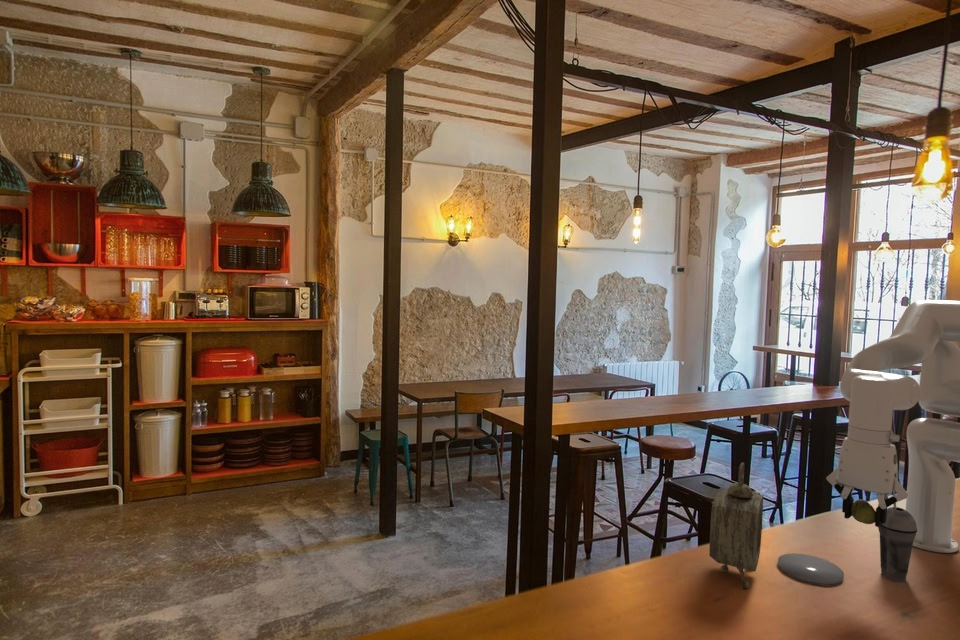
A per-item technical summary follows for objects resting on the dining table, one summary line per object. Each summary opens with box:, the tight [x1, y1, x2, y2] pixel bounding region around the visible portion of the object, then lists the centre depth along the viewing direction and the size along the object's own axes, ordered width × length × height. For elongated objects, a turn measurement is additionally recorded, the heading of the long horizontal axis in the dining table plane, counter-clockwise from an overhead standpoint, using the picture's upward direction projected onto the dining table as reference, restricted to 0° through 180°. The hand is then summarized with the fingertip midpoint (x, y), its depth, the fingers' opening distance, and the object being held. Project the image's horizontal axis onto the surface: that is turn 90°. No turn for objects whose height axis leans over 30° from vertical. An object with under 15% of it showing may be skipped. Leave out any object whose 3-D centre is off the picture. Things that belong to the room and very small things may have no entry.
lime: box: [851, 498, 876, 525], centre depth 125 cm, size 4×5×5 cm
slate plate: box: [777, 553, 845, 586], centre depth 135 cm, size 13×13×1 cm
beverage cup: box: [877, 490, 917, 583], centre depth 132 cm, size 7×7×20 cm
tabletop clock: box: [708, 462, 764, 589], centre depth 131 cm, size 14×9×25 cm, turn 150°
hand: (863, 520), depth 125 cm, fingers closed on lime, 4 cm apart
